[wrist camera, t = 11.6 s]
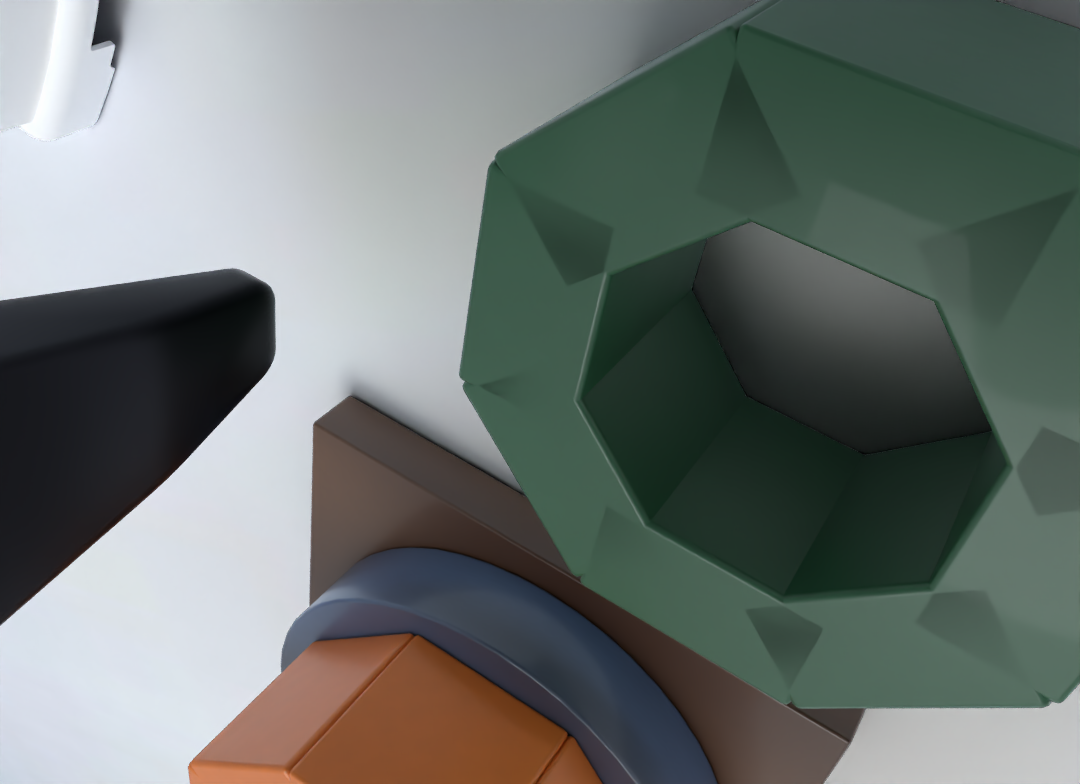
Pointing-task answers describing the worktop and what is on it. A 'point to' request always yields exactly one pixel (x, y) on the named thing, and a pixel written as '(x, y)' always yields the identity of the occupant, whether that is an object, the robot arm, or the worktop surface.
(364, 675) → the orange ring
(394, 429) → the ring stand
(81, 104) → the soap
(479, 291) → the green ring
